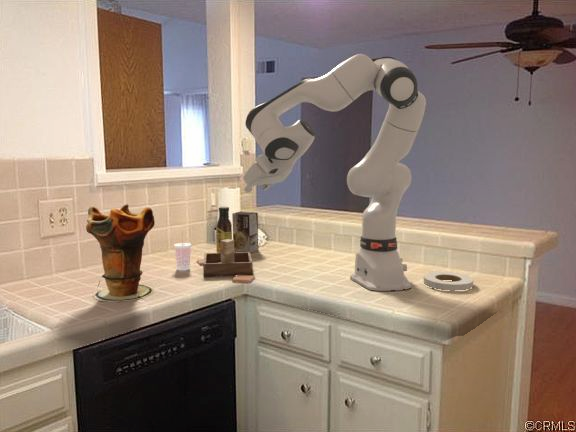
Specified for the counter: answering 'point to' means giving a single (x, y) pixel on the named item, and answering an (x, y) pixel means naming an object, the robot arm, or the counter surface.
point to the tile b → (243, 278)
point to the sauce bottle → (223, 227)
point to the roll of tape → (457, 281)
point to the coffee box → (245, 231)
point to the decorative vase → (121, 251)
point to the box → (227, 265)
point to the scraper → (227, 251)
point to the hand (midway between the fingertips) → (255, 189)
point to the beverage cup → (182, 255)
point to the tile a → (200, 261)
